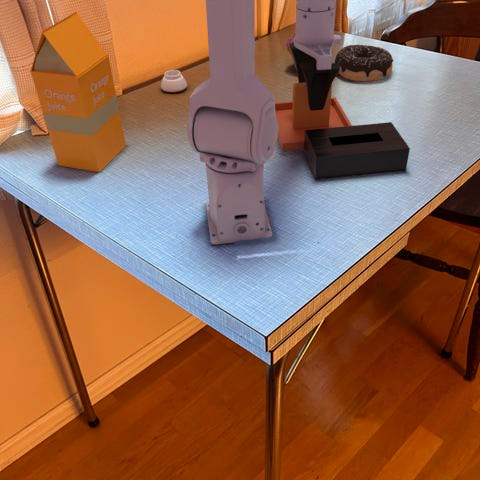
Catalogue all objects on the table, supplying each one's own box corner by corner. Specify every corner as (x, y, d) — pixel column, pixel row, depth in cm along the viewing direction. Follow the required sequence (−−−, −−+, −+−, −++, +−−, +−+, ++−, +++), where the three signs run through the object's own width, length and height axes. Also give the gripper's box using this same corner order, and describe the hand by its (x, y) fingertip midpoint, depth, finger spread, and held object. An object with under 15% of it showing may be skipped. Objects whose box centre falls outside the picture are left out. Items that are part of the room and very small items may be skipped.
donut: (345, 86, 106) (347, 65, 103) (325, 64, 114) (327, 43, 111) (400, 79, 107) (404, 58, 104) (377, 58, 116) (380, 37, 113)
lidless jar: (157, 93, 108) (182, 94, 106) (155, 77, 105) (180, 78, 104) (166, 82, 111) (190, 84, 110) (164, 67, 109) (189, 68, 108)
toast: (329, 125, 93) (332, 83, 89) (293, 129, 93) (294, 86, 88) (327, 122, 94) (330, 79, 90) (291, 125, 94) (292, 83, 89)
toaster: (405, 173, 83) (410, 148, 80) (315, 182, 82) (316, 157, 79) (387, 146, 89) (391, 121, 86) (303, 154, 88) (304, 130, 85)
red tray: (357, 146, 89) (358, 136, 88) (282, 154, 89) (282, 143, 87) (334, 107, 100) (335, 97, 99) (267, 113, 99) (267, 103, 98)
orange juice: (127, 145, 93) (101, 12, 79) (100, 172, 87) (66, 33, 73) (85, 140, 95) (53, 9, 81) (56, 165, 89) (16, 29, 75)
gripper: (356, 19, 76) (347, 116, 86) (331, -10, 87) (325, 79, 96) (305, 23, 76) (301, 120, 85) (286, -7, 86) (284, 83, 96)
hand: (311, 99), depth 91 cm, fingers open, 7 cm apart
